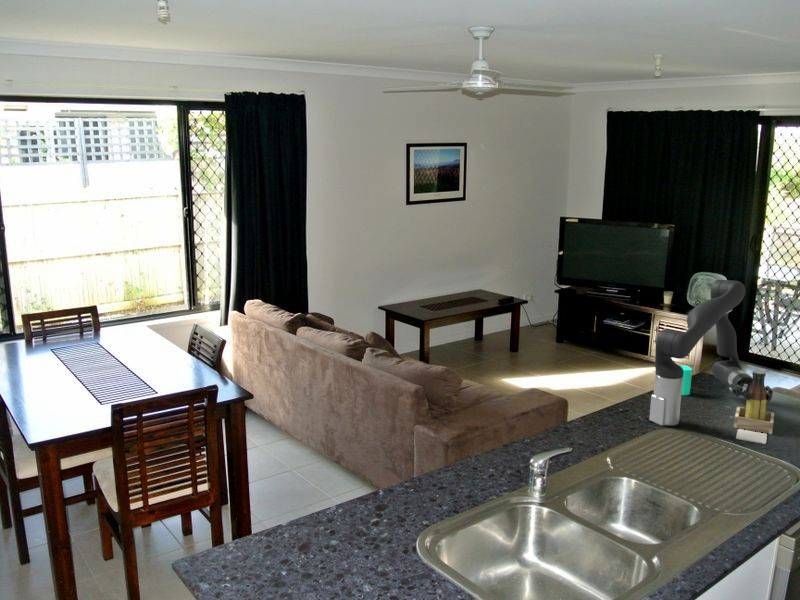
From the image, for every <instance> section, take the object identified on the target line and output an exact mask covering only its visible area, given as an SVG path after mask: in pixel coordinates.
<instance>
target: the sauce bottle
mask: <svg viewBox="0 0 800 600" xmlns="http://www.w3.org/2000/svg"><path fill="white" fill-rule="evenodd" d="M765 377H766V371H763V370H761V369H760V370H759V369H758V370H757V369H753V370H752V378H753V380H752V384H751V386H750V387H749V389H748V393H750V395H751V397H750V400H747V399H746V405H745V408H746V413H745V418H750V419H756V420H762V421H765V411H767V409H766V408H767V398H766V396H767V390H766V388H765V387H766V385H765Z"/></svg>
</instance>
